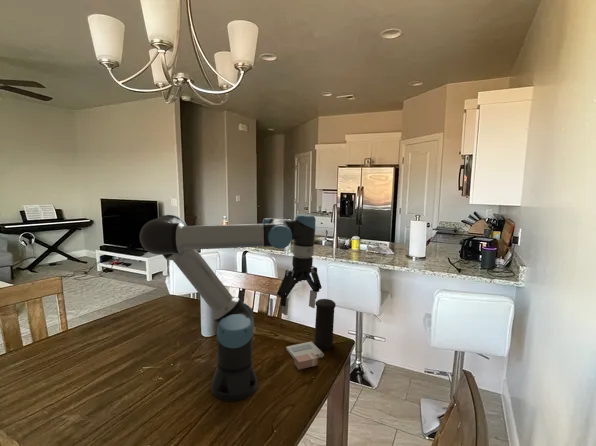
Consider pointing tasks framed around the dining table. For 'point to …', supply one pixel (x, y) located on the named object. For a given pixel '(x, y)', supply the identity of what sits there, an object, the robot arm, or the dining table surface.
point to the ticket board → (304, 349)
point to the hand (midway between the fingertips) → (298, 310)
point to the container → (324, 323)
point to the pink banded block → (305, 361)
